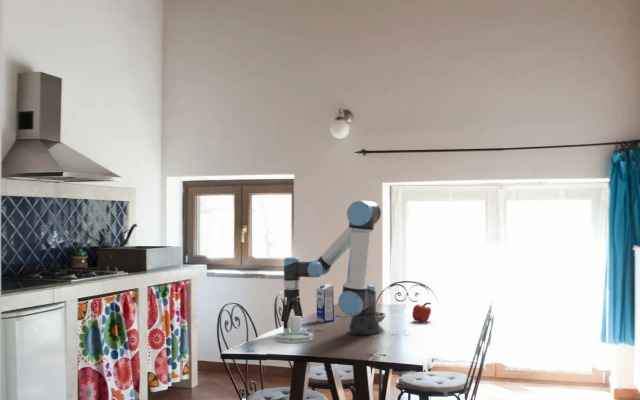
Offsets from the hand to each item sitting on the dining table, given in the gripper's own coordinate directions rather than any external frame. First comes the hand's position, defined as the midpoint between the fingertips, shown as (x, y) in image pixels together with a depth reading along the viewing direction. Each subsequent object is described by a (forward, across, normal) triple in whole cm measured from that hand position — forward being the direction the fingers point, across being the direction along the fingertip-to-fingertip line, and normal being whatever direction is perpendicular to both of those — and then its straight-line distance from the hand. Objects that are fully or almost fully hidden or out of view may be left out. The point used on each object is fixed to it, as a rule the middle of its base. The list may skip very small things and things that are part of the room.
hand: (292, 332), depth 319 cm
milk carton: (0, -37, +2) cm, 37 cm away
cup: (0, 0, 0) cm, 0 cm away
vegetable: (0, -52, +52) cm, 74 cm away
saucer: (0, +14, +8) cm, 16 cm away
